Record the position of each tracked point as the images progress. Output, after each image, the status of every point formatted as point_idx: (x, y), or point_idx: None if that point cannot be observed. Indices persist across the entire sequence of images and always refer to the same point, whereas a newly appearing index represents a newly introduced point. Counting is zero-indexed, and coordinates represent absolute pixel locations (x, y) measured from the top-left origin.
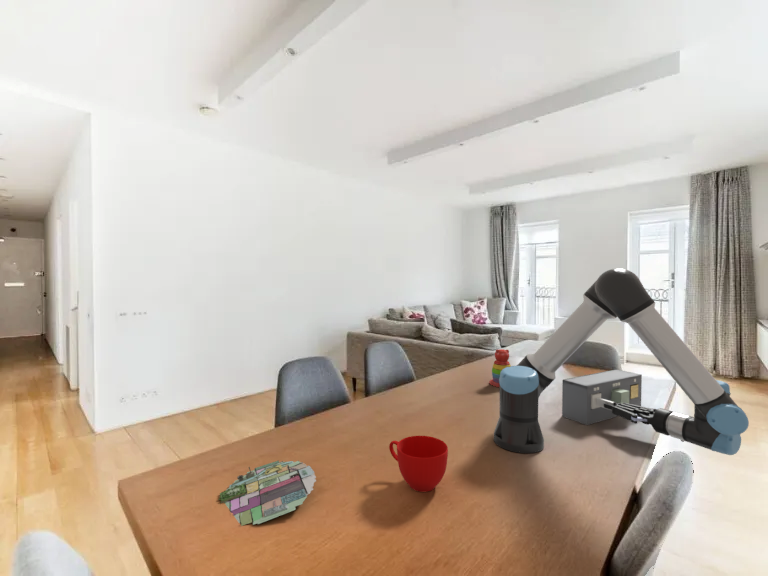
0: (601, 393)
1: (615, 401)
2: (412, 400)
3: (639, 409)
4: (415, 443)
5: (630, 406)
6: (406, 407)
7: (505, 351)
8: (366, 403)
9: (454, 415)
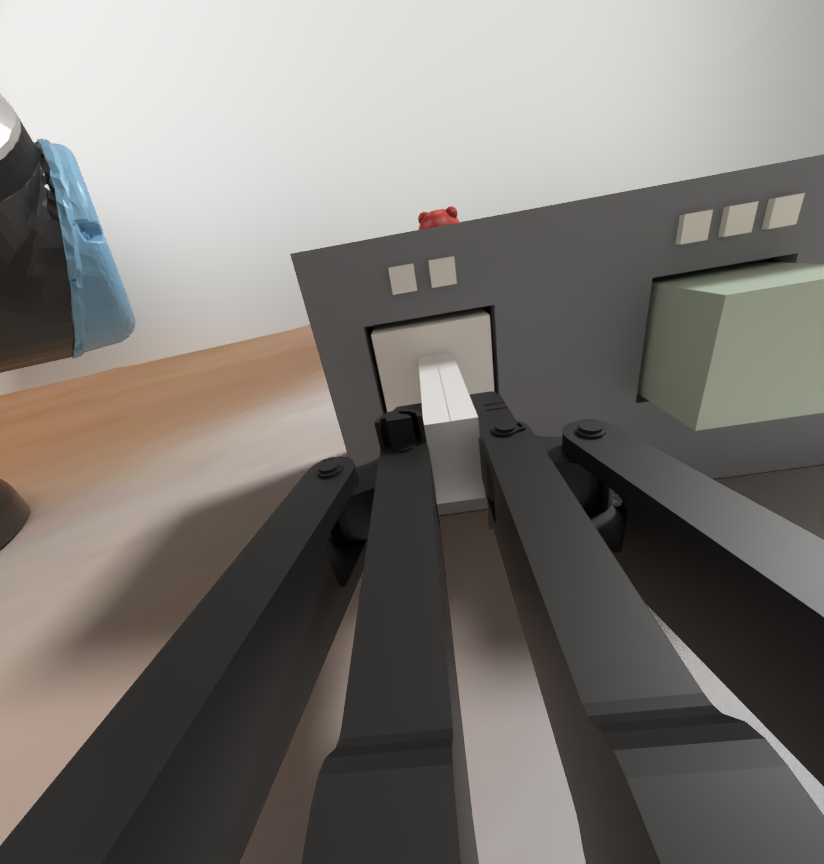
0: (505, 317)
1: (665, 383)
2: (189, 365)
3: (618, 793)
4: None
5: (559, 525)
6: (134, 381)
7: (438, 213)
8: (118, 371)
9: (134, 408)
